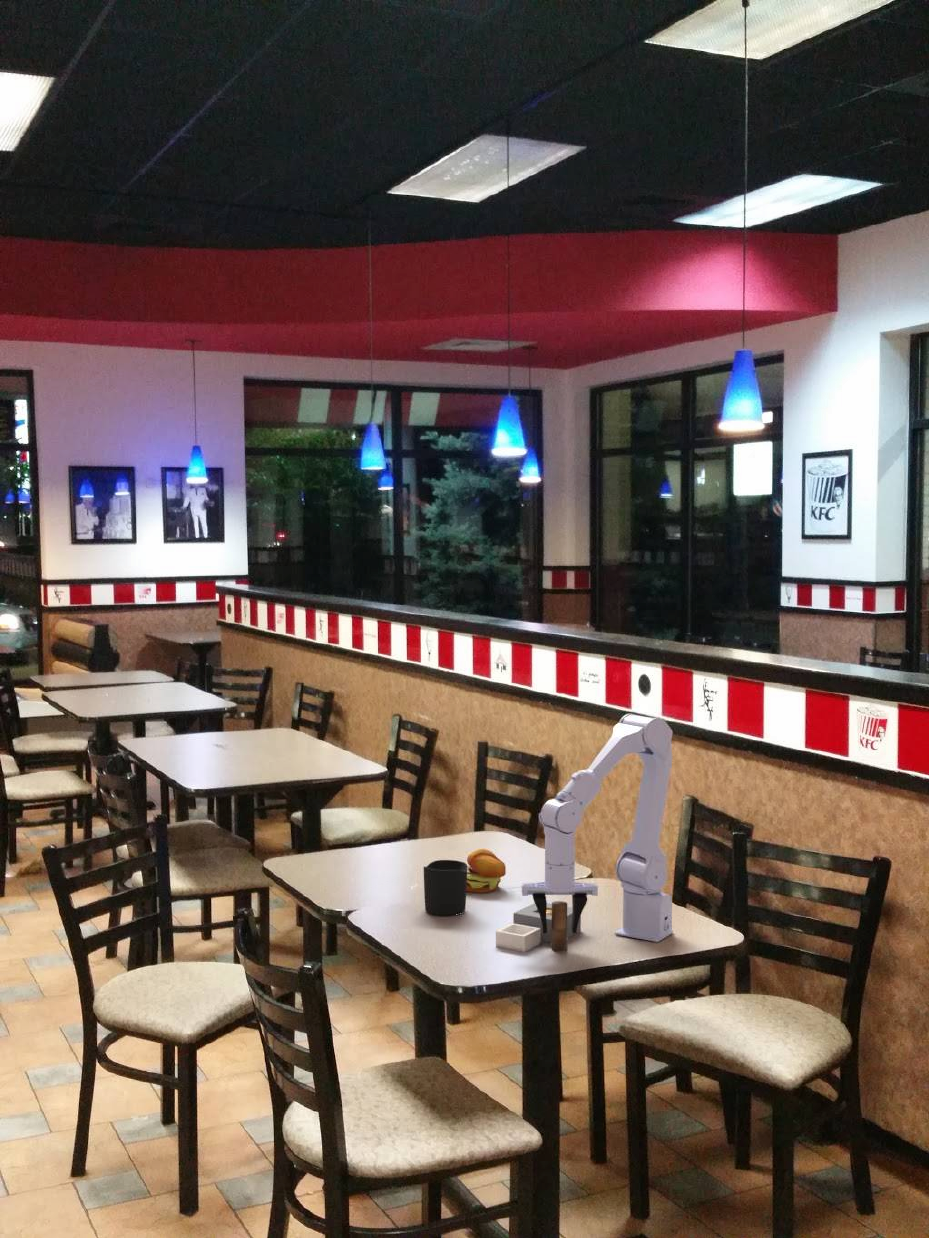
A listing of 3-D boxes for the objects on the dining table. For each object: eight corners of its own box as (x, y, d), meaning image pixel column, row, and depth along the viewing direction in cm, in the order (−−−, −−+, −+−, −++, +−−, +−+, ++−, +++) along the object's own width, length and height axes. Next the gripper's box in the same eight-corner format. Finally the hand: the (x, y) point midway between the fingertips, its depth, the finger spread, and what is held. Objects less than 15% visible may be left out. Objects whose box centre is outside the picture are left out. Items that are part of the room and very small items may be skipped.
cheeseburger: (469, 879, 289) (478, 840, 287) (507, 896, 284) (517, 856, 282) (447, 888, 280) (456, 847, 279) (486, 906, 275) (496, 865, 273)
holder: (540, 943, 240) (540, 928, 240) (524, 951, 235) (524, 936, 235) (512, 938, 244) (512, 923, 244) (495, 946, 238) (495, 931, 238)
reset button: (564, 917, 248) (564, 910, 248) (552, 923, 244) (552, 916, 244) (542, 913, 250) (542, 907, 250) (530, 919, 246) (530, 912, 246)
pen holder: (474, 913, 261) (474, 867, 260) (435, 919, 256) (435, 872, 256) (455, 903, 269) (455, 858, 269) (416, 908, 265) (416, 862, 264)
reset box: (580, 930, 249) (580, 908, 248) (557, 943, 240) (557, 920, 240) (537, 923, 254) (537, 901, 254) (513, 935, 246) (513, 912, 245)
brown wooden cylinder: (569, 948, 237) (570, 902, 237) (562, 952, 235) (562, 906, 234) (556, 945, 239) (556, 900, 238) (548, 949, 236) (549, 903, 236)
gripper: (594, 857, 240) (594, 925, 241) (520, 857, 240) (520, 925, 240) (599, 865, 233) (598, 936, 234) (523, 865, 233) (522, 936, 233)
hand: (559, 931), depth 236 cm, fingers open, 5 cm apart
